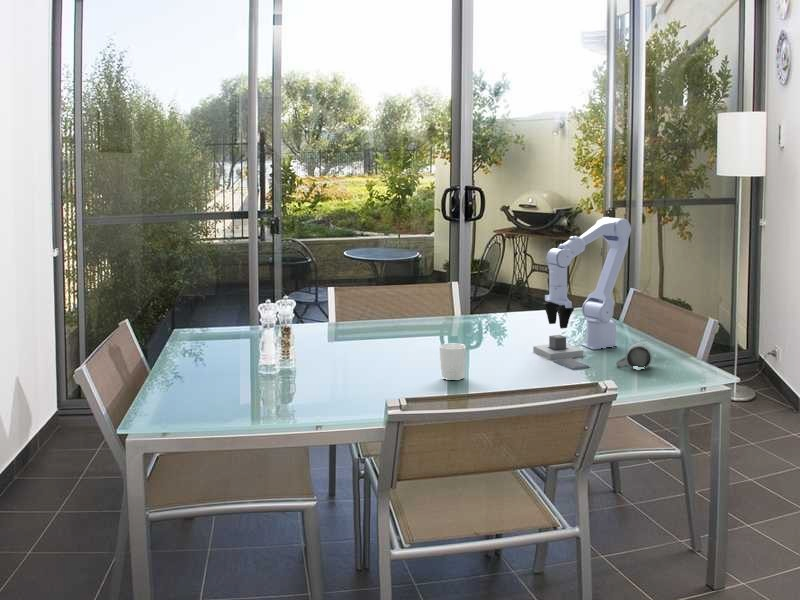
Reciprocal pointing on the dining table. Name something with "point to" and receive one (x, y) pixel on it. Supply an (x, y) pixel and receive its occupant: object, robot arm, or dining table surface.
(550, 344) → the block
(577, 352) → the outlet plate
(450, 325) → the dining table surface
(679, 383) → the dining table surface
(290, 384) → the dining table surface
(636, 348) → the ceramic mug
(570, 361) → the phone
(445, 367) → the white cup
